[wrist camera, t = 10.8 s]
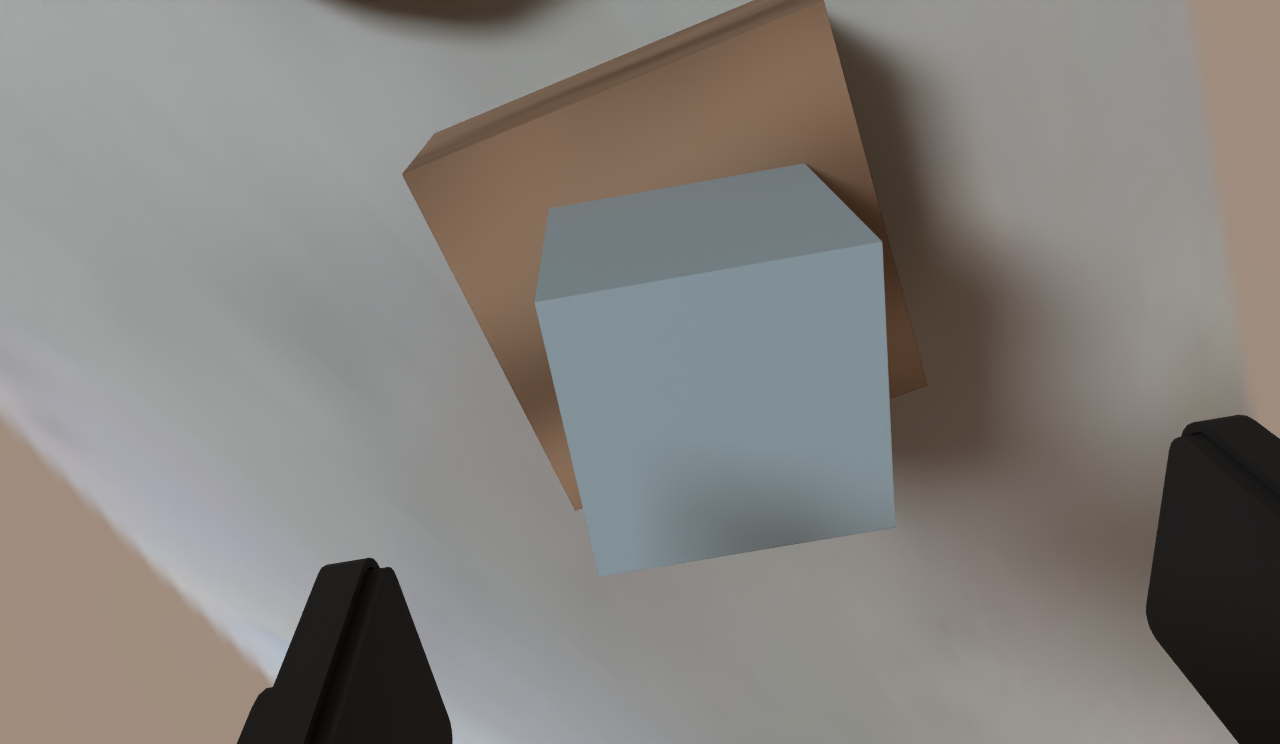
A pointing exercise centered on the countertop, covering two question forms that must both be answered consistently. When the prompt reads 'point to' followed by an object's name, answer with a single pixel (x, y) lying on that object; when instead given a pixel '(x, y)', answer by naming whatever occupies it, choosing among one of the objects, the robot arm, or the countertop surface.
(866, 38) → the countertop surface
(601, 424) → the slate cube
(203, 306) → the countertop surface
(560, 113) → the walnut block
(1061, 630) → the countertop surface
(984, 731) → the countertop surface
